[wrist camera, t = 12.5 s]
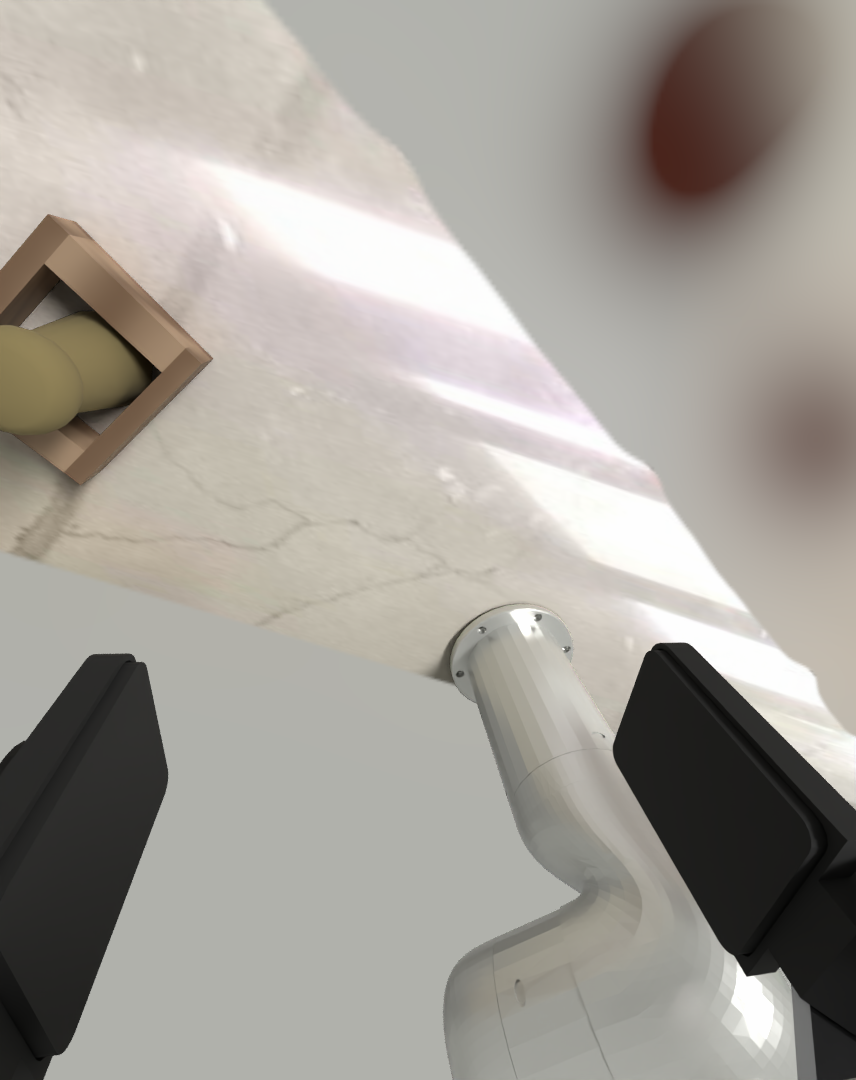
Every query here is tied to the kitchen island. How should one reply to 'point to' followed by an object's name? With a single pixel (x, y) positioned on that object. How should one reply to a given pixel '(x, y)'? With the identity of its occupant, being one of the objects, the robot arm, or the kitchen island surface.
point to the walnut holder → (126, 308)
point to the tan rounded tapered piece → (66, 372)
